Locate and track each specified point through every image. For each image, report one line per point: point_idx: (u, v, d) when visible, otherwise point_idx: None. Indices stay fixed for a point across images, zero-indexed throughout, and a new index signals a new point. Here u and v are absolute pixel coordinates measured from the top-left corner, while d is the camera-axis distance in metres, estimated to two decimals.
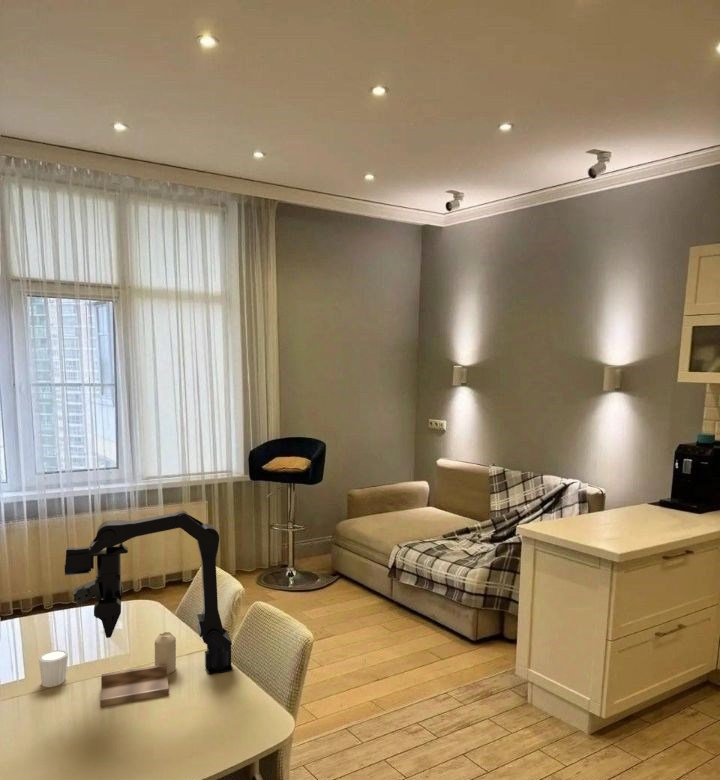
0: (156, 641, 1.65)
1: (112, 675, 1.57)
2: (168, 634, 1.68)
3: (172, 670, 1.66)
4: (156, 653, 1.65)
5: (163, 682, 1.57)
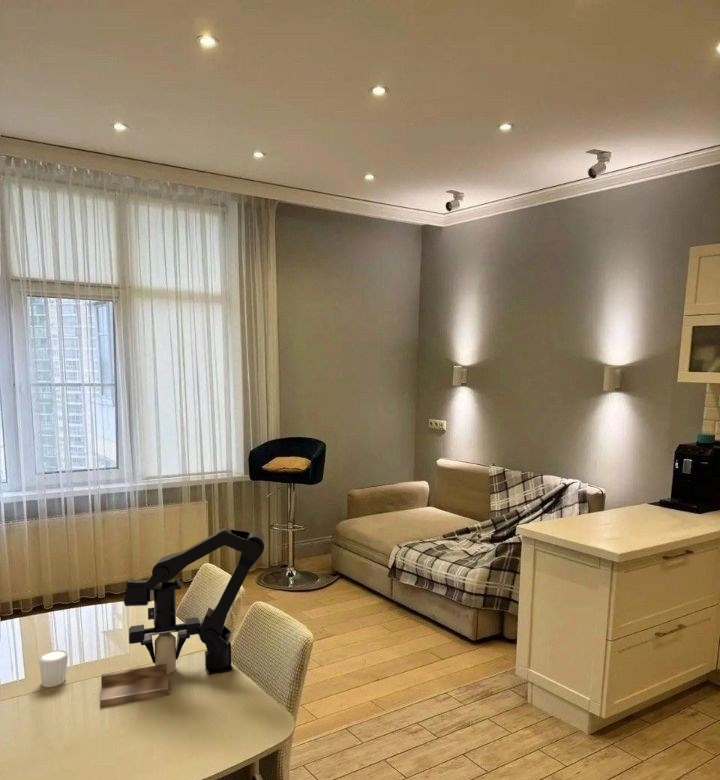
0: (156, 641, 1.65)
1: (112, 675, 1.57)
2: (168, 634, 1.68)
3: (172, 670, 1.66)
4: (156, 653, 1.65)
5: (163, 682, 1.57)
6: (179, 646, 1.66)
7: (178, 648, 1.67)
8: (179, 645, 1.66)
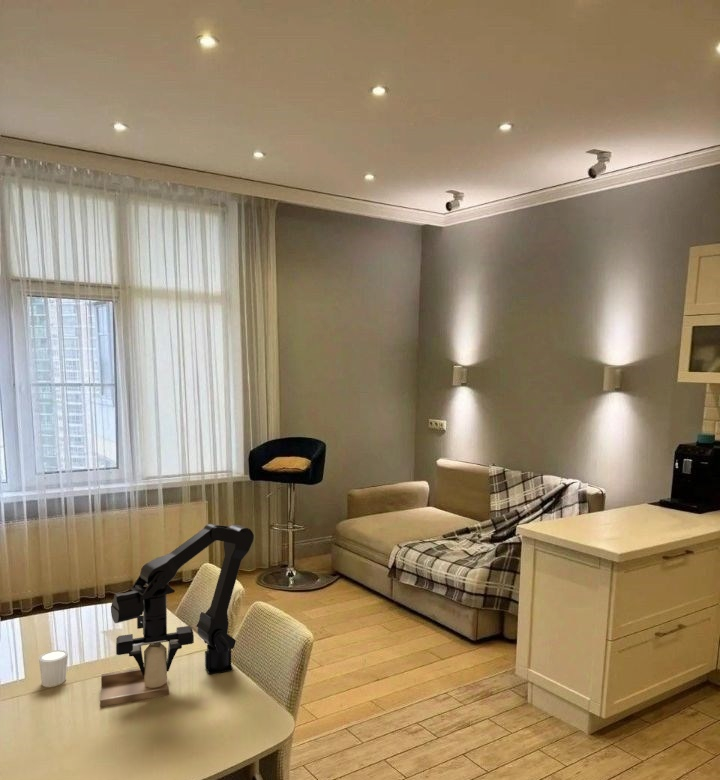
0: (145, 652, 1.55)
1: (112, 675, 1.57)
2: (158, 644, 1.58)
3: (163, 683, 1.55)
4: (145, 665, 1.55)
5: None
6: (170, 657, 1.56)
7: (169, 659, 1.56)
8: (170, 656, 1.56)
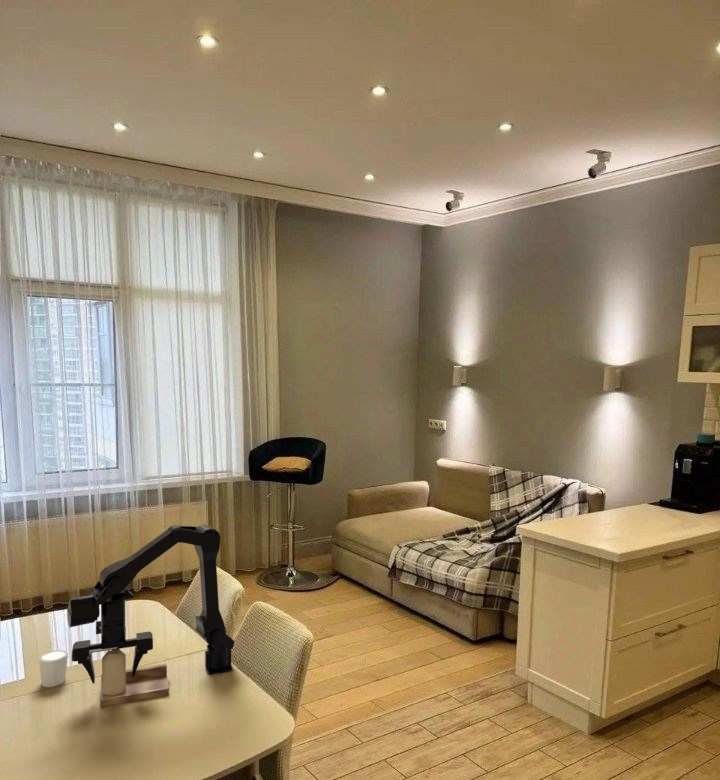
0: (103, 659, 1.51)
1: None
2: (117, 651, 1.54)
3: (121, 690, 1.52)
4: (103, 672, 1.51)
5: (163, 682, 1.57)
6: (135, 662, 1.53)
7: (134, 664, 1.53)
8: (135, 661, 1.53)
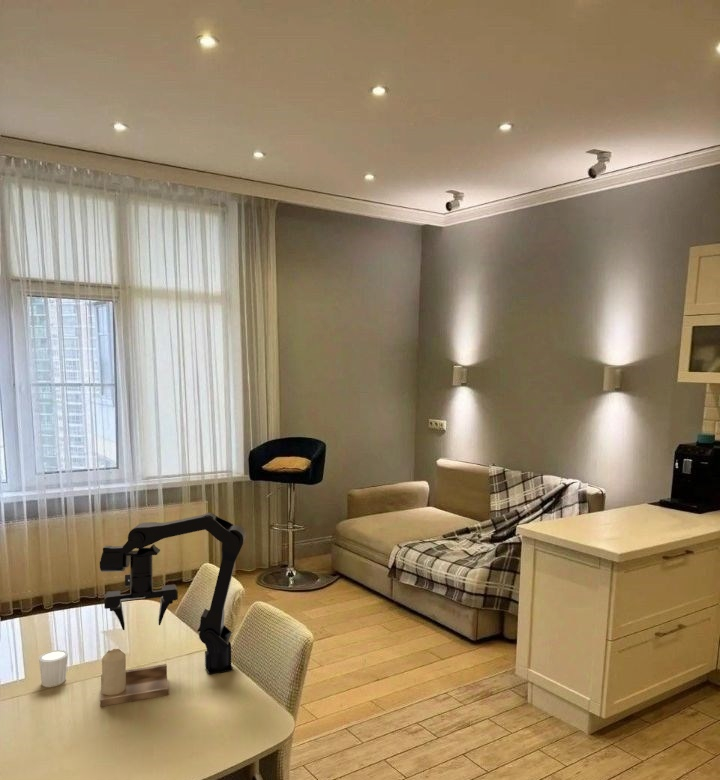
0: (103, 659, 1.51)
1: None
2: (117, 651, 1.54)
3: (121, 690, 1.52)
4: (103, 672, 1.51)
5: (163, 682, 1.57)
6: (162, 611, 1.67)
7: (161, 613, 1.67)
8: (162, 610, 1.66)
